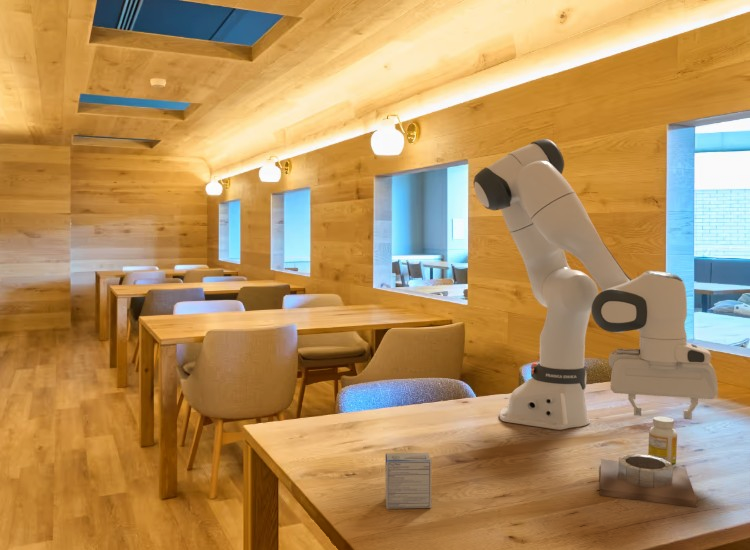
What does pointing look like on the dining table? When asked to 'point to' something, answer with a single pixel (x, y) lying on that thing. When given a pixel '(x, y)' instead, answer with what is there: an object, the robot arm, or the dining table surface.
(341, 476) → the dining table surface
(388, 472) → the medicine box
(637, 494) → the holder board
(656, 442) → the supplement bottle
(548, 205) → the robot arm
